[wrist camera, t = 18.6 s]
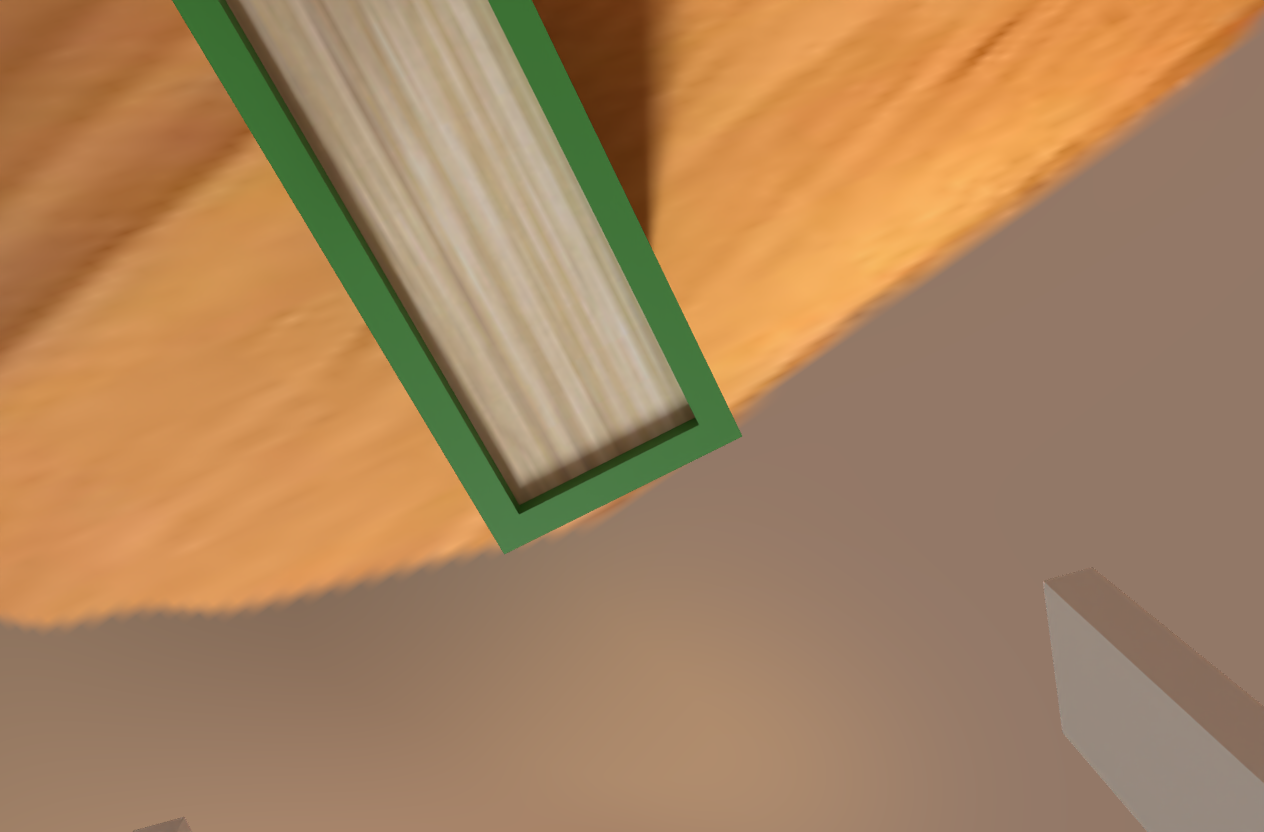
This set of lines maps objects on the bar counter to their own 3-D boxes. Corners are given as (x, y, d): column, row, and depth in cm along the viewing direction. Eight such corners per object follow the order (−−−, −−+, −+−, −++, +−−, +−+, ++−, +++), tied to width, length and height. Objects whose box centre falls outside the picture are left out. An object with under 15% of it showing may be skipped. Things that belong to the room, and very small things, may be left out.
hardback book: (336, 21, 44) (125, -77, 22) (478, -55, 44) (417, -236, 21) (518, 353, 50) (504, 554, 27) (647, 288, 49) (742, 436, 27)
